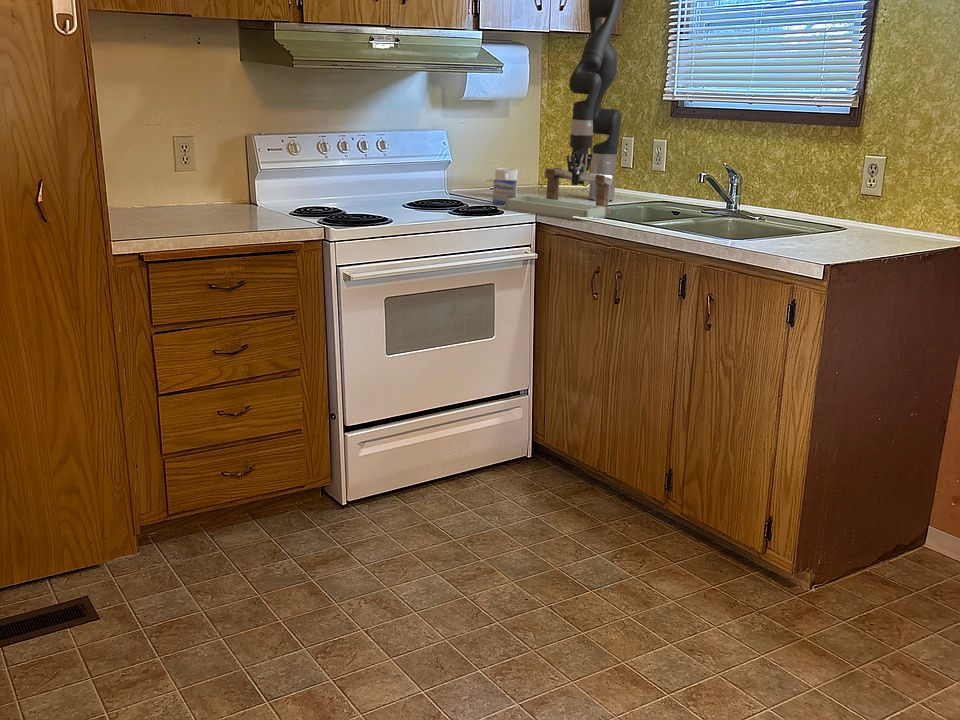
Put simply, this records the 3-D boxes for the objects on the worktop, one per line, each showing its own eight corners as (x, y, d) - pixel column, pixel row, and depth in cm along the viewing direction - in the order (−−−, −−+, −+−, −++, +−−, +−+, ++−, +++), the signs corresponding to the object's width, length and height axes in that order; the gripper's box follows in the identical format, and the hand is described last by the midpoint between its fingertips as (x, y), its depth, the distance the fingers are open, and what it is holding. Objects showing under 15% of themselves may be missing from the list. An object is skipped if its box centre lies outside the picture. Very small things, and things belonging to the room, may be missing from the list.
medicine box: (492, 204, 325) (493, 179, 323) (493, 203, 330) (494, 178, 327) (514, 206, 325) (515, 181, 322) (515, 204, 329) (516, 179, 326)
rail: (548, 176, 328) (549, 167, 327) (613, 184, 314) (614, 175, 313) (544, 176, 326) (544, 168, 325) (609, 184, 311) (609, 175, 310)
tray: (525, 205, 326) (526, 195, 325) (605, 217, 308) (606, 206, 307) (504, 209, 316) (505, 198, 315) (585, 221, 298) (586, 210, 297)
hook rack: (551, 204, 332) (553, 167, 328) (610, 212, 318) (613, 174, 314) (542, 206, 327) (544, 168, 323) (601, 214, 314) (605, 175, 310)
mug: (515, 200, 338) (517, 171, 335) (493, 199, 339) (494, 170, 336) (516, 196, 350) (518, 168, 347) (494, 195, 350) (496, 167, 347)
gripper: (582, 132, 323) (578, 182, 328) (561, 133, 312) (557, 184, 317) (601, 133, 318) (597, 184, 324) (580, 135, 307) (576, 187, 313)
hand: (577, 184), depth 320 cm, fingers open, 3 cm apart
